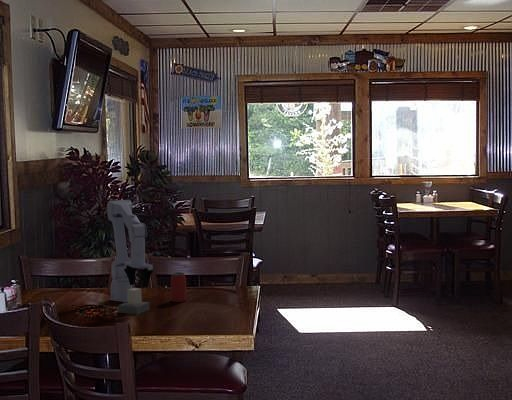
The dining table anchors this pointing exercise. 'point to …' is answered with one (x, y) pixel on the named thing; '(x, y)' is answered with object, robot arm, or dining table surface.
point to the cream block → (134, 296)
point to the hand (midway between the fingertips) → (138, 285)
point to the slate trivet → (134, 308)
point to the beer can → (178, 287)
